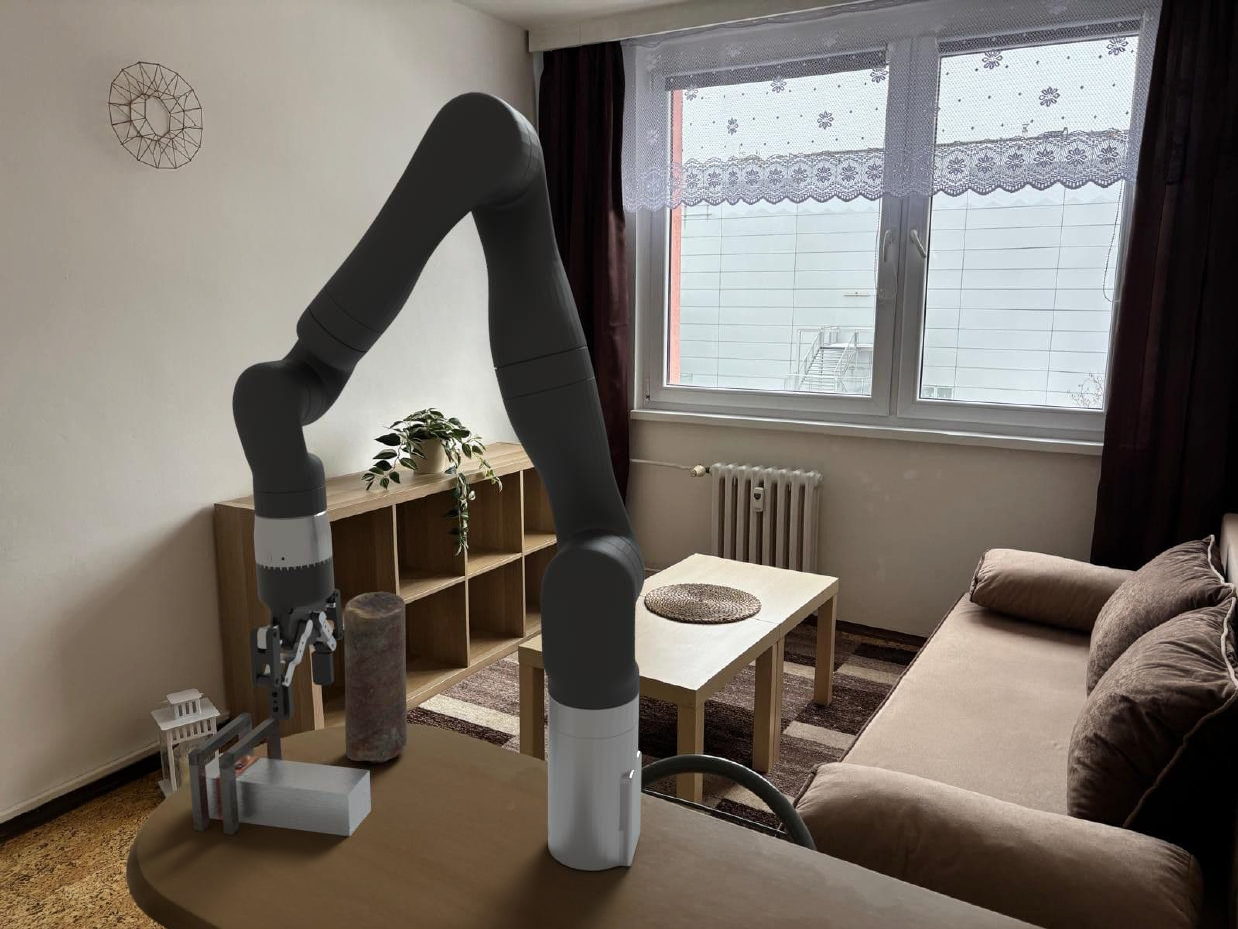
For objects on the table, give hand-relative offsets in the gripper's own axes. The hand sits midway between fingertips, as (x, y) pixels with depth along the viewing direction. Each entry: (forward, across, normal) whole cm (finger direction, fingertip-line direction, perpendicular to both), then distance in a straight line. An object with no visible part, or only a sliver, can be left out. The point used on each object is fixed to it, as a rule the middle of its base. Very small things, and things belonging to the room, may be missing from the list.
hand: (304, 700), depth 97 cm
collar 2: (+13, 0, +7) cm, 15 cm away
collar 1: (+13, 0, +10) cm, 17 cm away
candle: (+14, +14, -1) cm, 20 cm away
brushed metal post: (+14, 0, +3) cm, 14 cm away
